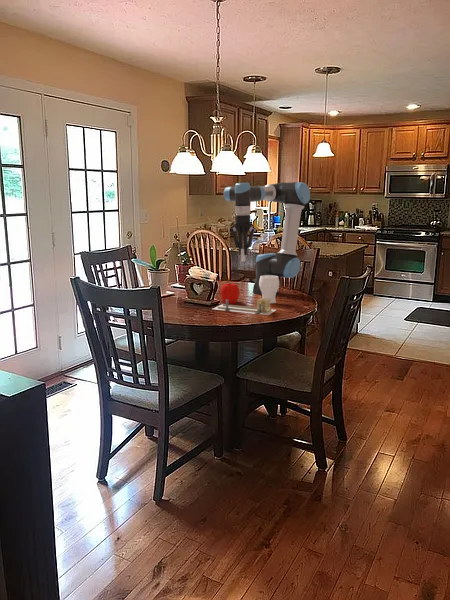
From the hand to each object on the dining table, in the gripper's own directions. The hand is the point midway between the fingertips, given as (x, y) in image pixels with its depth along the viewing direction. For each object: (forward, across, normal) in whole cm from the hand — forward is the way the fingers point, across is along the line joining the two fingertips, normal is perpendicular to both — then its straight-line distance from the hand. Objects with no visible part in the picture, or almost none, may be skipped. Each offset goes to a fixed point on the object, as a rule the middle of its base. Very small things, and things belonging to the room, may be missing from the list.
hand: (243, 261), depth 257 cm
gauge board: (+24, +4, -12) cm, 27 cm away
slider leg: (+22, +15, -13) cm, 30 cm away
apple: (+24, -8, +1) cm, 25 cm away
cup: (+25, +10, +10) cm, 29 cm away
